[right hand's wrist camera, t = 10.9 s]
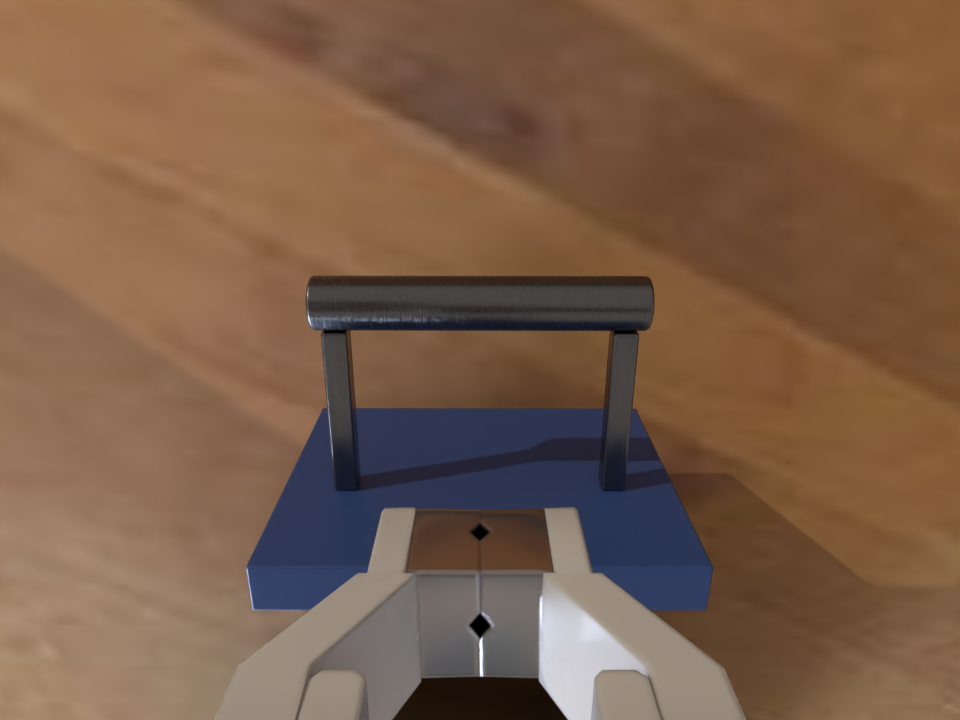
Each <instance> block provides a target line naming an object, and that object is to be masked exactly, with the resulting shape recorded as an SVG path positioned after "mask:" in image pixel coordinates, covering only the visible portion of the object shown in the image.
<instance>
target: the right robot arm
mask: <svg viewBox="0 0 960 720" xmlns="http://www.w3.org/2000/svg"><path fill="white" fill-rule="evenodd" d="M448 677H511V678H539V682H540V683H541V685H542V686H543V687H544V689H545V690H546V691H547V693H548V694H549V695H550V696H551V698H552V699H553V700H554V702H555V703H556V704H557V706H558V707H559V708H560V710H561V711H562V712H563V714H564V715H565V716H566V718H567V719H568V720H746V718H745V715H744V713H743V711H742V708H741V706H740V704H739V701H738V699H737V697H736V694H735V692H734V690H733V687H732V685H731V683H730V680H729V678H728V676H727V673H726V671H725V669H724V667H722V666H721V665H720V664H719V663H717V662H716V661H715V660H713V659H712V658H711V657H710V656H708V655H707V654H706V653H704V652H703V651H702V650H701V649H699V648H698V647H697V646H695V645H694V644H693V643H692V642H690V641H689V640H688V639H686V638H685V637H684V636H683V635H681V634H680V633H679V632H677V631H676V630H675V629H674V628H672V627H671V626H670V625H668V624H667V623H666V622H665V621H663V620H662V619H661V618H659V617H658V616H657V615H656V614H654V613H653V612H652V611H650V610H649V609H648V608H647V607H645V606H644V605H643V604H641V603H640V602H639V601H638V600H636V599H635V598H634V597H632V596H631V595H630V594H629V593H627V592H626V591H625V590H623V589H622V588H621V587H620V586H618V585H617V584H616V583H614V582H613V581H612V580H611V579H609V578H608V577H607V576H605V575H604V574H603V573H593V571H592V567H591V563H590V559H589V555H588V551H587V547H586V542H585V538H584V534H583V530H582V526H581V522H580V518H579V513H578V510H577V509H576V508H575V507H561V508H543V509H499V510H480V509H459V508H417V509H416V508H415V507H399V508H385V509H384V510H383V511H382V513H381V517H380V521H379V525H378V529H377V534H376V538H375V542H374V546H373V550H372V555H371V559H370V563H369V567H368V571H367V573H357V574H356V575H355V576H353V577H352V578H351V579H349V580H348V581H347V582H345V583H344V584H343V585H342V586H340V587H339V588H338V589H336V590H335V591H334V592H333V593H331V594H330V595H329V596H327V597H326V598H325V599H324V600H322V601H321V602H320V603H318V604H317V605H316V606H314V607H313V608H312V609H311V610H309V611H308V612H307V613H305V614H304V615H303V616H302V617H300V618H299V619H298V620H296V621H295V622H294V623H293V624H291V625H290V626H289V627H287V628H286V629H285V630H283V631H282V632H281V633H280V634H278V635H277V636H276V637H274V638H273V639H272V640H271V641H269V642H268V643H267V644H265V645H264V646H263V647H262V648H260V649H259V650H258V651H256V652H255V653H254V654H252V655H251V656H250V657H249V658H247V659H246V660H245V661H243V662H242V663H241V664H240V665H238V666H237V667H236V669H235V672H234V674H233V676H232V679H231V681H230V683H229V686H228V688H227V690H226V692H225V695H224V697H223V699H222V702H221V704H220V706H219V709H218V711H217V713H216V716H215V718H214V720H393V718H394V717H395V716H396V714H397V713H398V712H399V710H400V709H401V708H402V706H403V705H404V704H405V702H406V701H407V700H408V698H409V697H410V696H411V694H412V693H413V692H414V691H415V689H416V688H417V687H418V685H419V684H420V683H421V678H448Z"/></svg>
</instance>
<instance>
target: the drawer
mask: <svg viewBox="0 0 960 720" xmlns="http://www.w3.org/2000/svg"><path fill="white" fill-rule="evenodd" d="M654 302H655V301H654V289H653V284H652V281H651V279H650V278H649V277H646V276H312V277H311V278H310V279H309V281H308V285H307V290H306V313H307V319H308V322H309V325H310V327H311V329H313V330H323V332H322V333H321V342H322V353H323V364H324V376H325V387H326V398H327V408H324V409H323V410H322V412H321V414H320V416H319V418H318V420H317V422H316V424H315V426H314V428H313V430H312V432H311V435H310V437H309V439H308V441H307V443H306V445H305V447H304V449H303V451H302V453H301V455H300V457H299V459H298V461H297V463H296V465H295V468H294V470H293V472H292V474H291V476H290V478H289V480H288V482H287V484H286V486H285V488H284V490H283V492H282V494H281V496H280V498H279V501H278V503H277V505H276V507H275V509H274V511H273V513H272V515H271V517H270V519H269V521H268V523H267V525H266V527H265V529H264V531H263V534H262V536H261V538H260V540H259V542H258V544H257V546H256V548H255V550H254V552H253V554H252V556H251V558H250V560H249V562H248V564H247V567H246V569H247V576H248V582H249V589H250V596H251V602H252V609H253V610H307V612H308V611H309V610H311V609H312V608H313V607H314V606H316V605H317V604H318V603H320V602H321V601H322V600H324V599H325V598H326V597H327V596H329V595H330V594H331V593H333V592H334V591H335V590H336V589H338V588H339V587H340V586H342V585H343V584H344V583H345V582H347V581H348V580H349V579H351V578H352V577H353V576H355V575H356V574H357V573H367V571H368V567H369V563H370V559H371V555H372V550H373V546H374V542H375V538H376V534H377V529H378V525H379V521H380V517H381V513H382V511H383V510H384V509H385V508H399V507H415V508H416V509H417V508H459V509H480V510H499V509H543V508H561V507H575V508H576V509H577V510H578V513H579V518H580V522H581V526H582V530H583V534H584V538H585V542H586V547H587V551H588V555H589V559H590V563H591V567H592V571H593V573H603V574H604V575H605V576H607V577H608V578H609V579H611V580H612V581H613V582H614V583H616V584H617V585H618V586H620V587H621V588H622V589H623V590H625V591H626V592H627V593H629V594H630V595H631V596H632V597H634V598H635V599H636V600H638V601H639V602H640V603H641V604H643V605H644V606H645V607H647V608H648V609H649V610H650V611H652V610H706V609H707V603H708V597H709V591H710V584H711V578H712V572H713V566H712V564H711V562H710V560H709V558H708V556H707V554H706V552H705V550H704V548H703V546H702V544H701V542H700V540H699V538H698V536H697V533H696V531H695V529H694V527H693V525H692V523H691V521H690V519H689V517H688V515H687V513H686V511H685V509H684V507H683V505H682V503H681V501H680V499H679V497H678V495H677V493H676V491H675V489H674V486H673V484H672V482H671V480H670V478H669V476H668V474H667V472H666V470H665V468H664V466H663V464H662V462H661V460H660V458H659V456H658V454H657V452H656V450H655V448H654V446H653V444H652V441H651V439H650V437H649V435H648V433H647V431H646V429H645V427H644V425H643V423H642V421H641V419H640V417H639V415H638V413H637V411H636V409H632V406H633V395H634V385H635V374H636V364H637V353H638V342H639V334H638V332H637V331H646V330H648V329H649V328H650V326H651V323H652V320H653V315H654ZM350 330H446V331H610V334H609V347H608V360H607V373H606V386H605V399H604V409H428V408H356V403H355V390H354V376H353V362H352V348H351V334H350ZM393 720H568V719H567V718H566V716H565V715H564V714H563V712H562V711H561V710H560V708H559V707H558V706H557V704H556V703H555V702H554V700H553V699H552V698H551V696H550V695H549V694H548V693H547V691H546V690H545V689H544V687H543V686H542V685H541V683H540V682H539V678H511V677H448V678H421V683H420V684H419V685H418V687H417V688H416V689H415V691H414V692H413V693H412V694H411V696H410V697H409V698H408V700H407V701H406V702H405V704H404V705H403V706H402V708H401V709H400V710H399V712H398V713H397V714H396V716H395V717H394V718H393Z"/></svg>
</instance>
